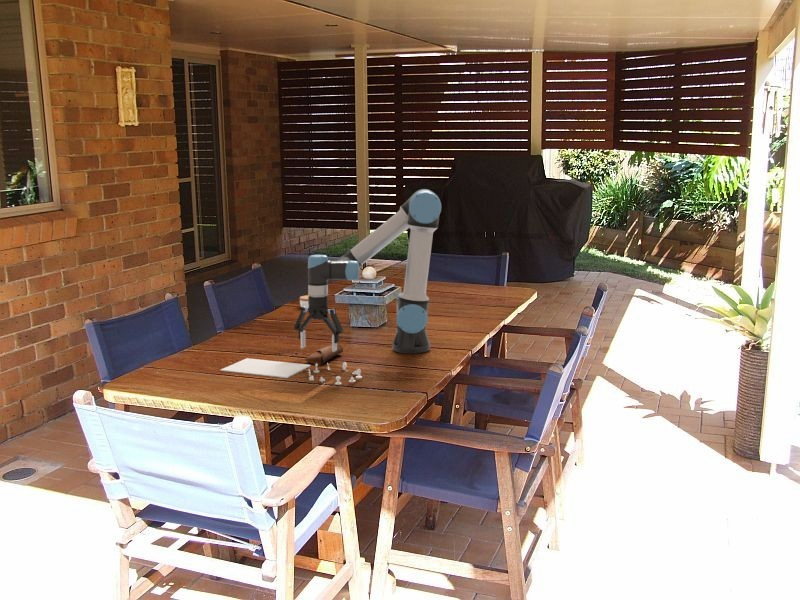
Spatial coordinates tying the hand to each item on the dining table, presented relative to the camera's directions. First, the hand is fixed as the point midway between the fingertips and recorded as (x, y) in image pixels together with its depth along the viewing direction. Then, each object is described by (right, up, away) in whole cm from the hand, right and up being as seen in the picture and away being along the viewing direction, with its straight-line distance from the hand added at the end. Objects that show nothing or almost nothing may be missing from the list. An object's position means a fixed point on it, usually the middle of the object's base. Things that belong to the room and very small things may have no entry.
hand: (318, 349), depth 326 cm
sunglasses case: (0, -4, +1) cm, 5 cm away
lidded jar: (-12, +13, +90) cm, 91 cm away
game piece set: (+8, -9, -24) cm, 26 cm away
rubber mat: (-18, -6, -13) cm, 23 cm away
